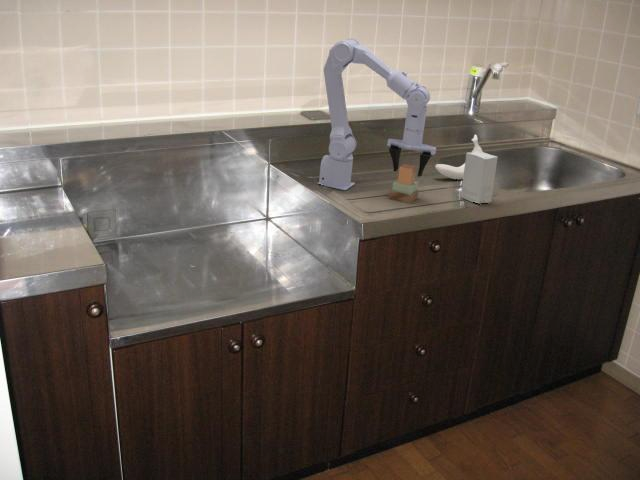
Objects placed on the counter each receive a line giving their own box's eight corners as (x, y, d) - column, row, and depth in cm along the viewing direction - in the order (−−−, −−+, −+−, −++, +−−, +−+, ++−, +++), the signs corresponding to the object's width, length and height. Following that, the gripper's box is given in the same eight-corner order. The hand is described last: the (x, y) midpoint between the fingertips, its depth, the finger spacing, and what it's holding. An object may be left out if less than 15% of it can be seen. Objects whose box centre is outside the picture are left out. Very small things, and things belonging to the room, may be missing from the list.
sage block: (392, 190, 213) (393, 182, 212) (399, 185, 218) (400, 178, 217) (410, 194, 210) (411, 186, 209) (417, 189, 215) (418, 182, 214)
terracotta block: (397, 182, 212) (399, 166, 210) (401, 179, 215) (403, 163, 213) (410, 185, 210) (412, 169, 209) (414, 182, 214) (416, 166, 212)
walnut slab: (388, 200, 213) (389, 190, 212) (395, 194, 219) (397, 185, 218) (410, 205, 211) (412, 195, 209) (417, 199, 217) (418, 189, 215)
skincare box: (491, 203, 218) (500, 157, 212) (477, 205, 215) (486, 158, 209) (471, 194, 224) (480, 149, 218) (458, 196, 221) (466, 151, 215)
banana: (432, 179, 236) (439, 136, 230) (471, 173, 247) (478, 133, 241) (442, 183, 232) (449, 140, 227) (481, 178, 243) (489, 136, 237)
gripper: (386, 126, 206) (380, 171, 211) (434, 136, 201) (427, 181, 206) (394, 122, 212) (388, 166, 217) (440, 131, 207) (433, 175, 212)
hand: (407, 173), depth 212 cm, fingers open, 7 cm apart
